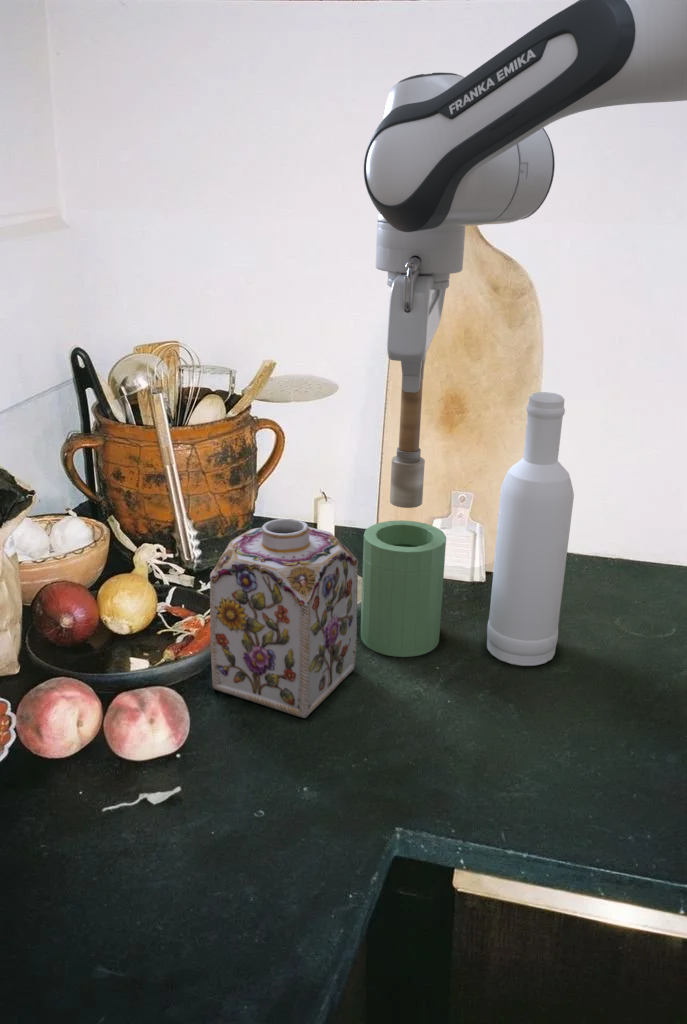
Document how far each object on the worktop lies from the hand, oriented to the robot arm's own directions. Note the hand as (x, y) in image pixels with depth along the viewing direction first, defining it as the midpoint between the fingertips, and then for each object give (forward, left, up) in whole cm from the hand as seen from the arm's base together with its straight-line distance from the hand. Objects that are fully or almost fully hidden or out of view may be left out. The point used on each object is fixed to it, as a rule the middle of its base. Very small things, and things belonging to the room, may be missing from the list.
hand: (412, 386), depth 99 cm
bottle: (-14, 0, -30) cm, 33 cm away
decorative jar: (+11, +12, -30) cm, 34 cm away
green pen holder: (0, 0, -30) cm, 30 cm away
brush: (0, 0, -13) cm, 13 cm away
